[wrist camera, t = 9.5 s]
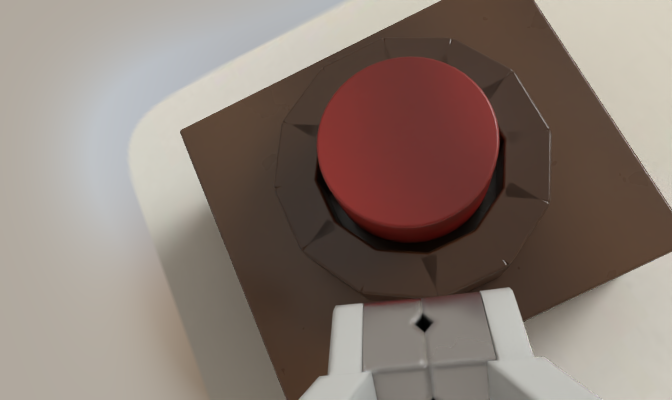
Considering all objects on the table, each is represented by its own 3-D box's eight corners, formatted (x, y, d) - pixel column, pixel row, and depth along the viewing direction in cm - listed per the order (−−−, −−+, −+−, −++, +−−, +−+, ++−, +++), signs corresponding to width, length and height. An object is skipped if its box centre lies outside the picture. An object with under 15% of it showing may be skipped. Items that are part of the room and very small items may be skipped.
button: (371, 271, 16) (361, 259, 14) (305, 133, 17) (288, 104, 15) (522, 198, 15) (535, 176, 14) (444, 64, 17) (446, 25, 15)
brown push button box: (333, 408, 22) (279, 438, 15) (237, 180, 25) (149, 105, 18) (626, 270, 22) (728, 226, 14) (494, 54, 25) (519, -80, 17)
